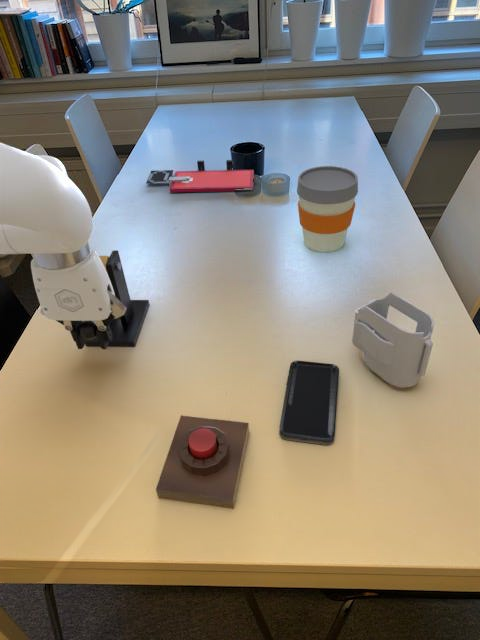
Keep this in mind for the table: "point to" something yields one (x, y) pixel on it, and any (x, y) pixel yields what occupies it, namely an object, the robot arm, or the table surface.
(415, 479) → the table surface
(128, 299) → the switch bracket
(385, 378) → the cable organizer
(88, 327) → the switch lever
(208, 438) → the button
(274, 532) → the table surface
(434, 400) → the table surface
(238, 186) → the red board with handle
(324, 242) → the reusable coffee cup
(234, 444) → the button block
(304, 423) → the phone
